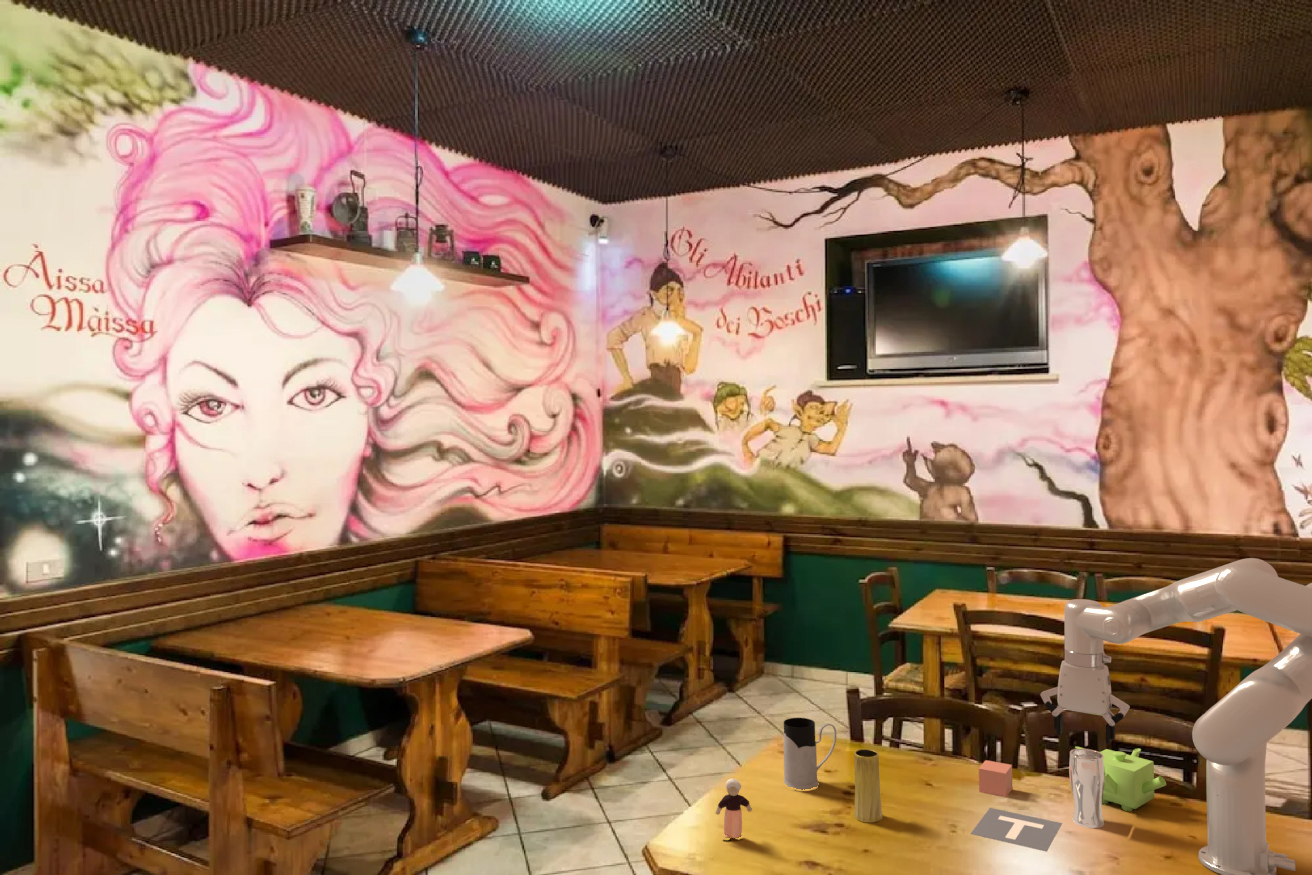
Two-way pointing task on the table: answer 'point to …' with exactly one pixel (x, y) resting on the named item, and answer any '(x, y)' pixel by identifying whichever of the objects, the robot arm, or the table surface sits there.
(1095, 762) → the beer glass
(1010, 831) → the board
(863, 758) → the vase
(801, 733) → the grey and black mug
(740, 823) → the grandmother figurine
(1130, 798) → the kettle
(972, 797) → the table surface
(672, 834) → the table surface
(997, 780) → the block
